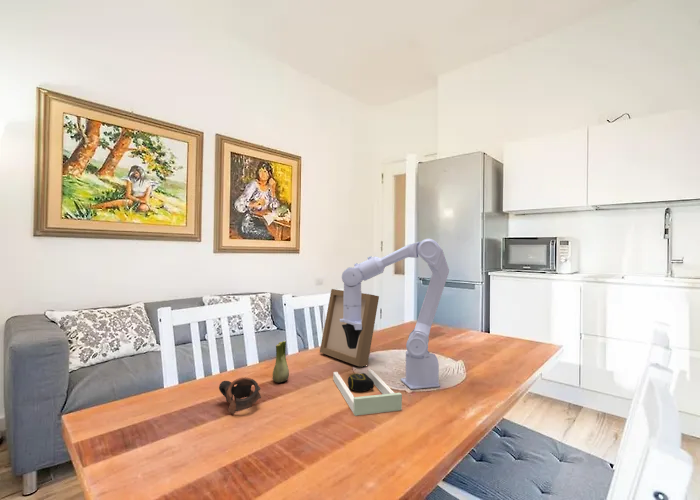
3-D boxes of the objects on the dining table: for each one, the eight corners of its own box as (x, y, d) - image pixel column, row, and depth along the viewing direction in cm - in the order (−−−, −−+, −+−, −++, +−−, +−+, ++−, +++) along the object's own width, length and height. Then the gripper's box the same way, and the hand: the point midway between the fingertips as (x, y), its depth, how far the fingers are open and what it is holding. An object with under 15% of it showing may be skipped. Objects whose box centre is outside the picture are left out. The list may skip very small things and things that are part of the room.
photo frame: (358, 369, 120) (359, 295, 120) (319, 354, 136) (320, 289, 136) (387, 360, 130) (388, 292, 130) (348, 347, 146) (348, 287, 146)
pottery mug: (267, 400, 96) (268, 380, 92) (248, 431, 88) (248, 410, 84) (228, 385, 98) (227, 364, 94) (206, 414, 90) (204, 392, 86)
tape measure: (374, 392, 101) (374, 379, 101) (352, 395, 99) (352, 381, 99) (366, 383, 108) (366, 371, 108) (344, 385, 106) (345, 373, 106)
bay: (371, 376, 113) (371, 364, 113) (401, 410, 90) (401, 394, 90) (333, 380, 110) (333, 367, 110) (354, 415, 86) (354, 399, 86)
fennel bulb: (283, 376, 112) (283, 339, 112) (293, 380, 109) (293, 341, 109) (268, 381, 108) (268, 342, 108) (278, 386, 105) (279, 345, 105)
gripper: (335, 302, 118) (334, 342, 118) (345, 309, 104) (345, 355, 104) (355, 301, 120) (354, 341, 120) (368, 308, 106) (368, 353, 106)
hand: (351, 347), depth 112 cm, fingers closed
